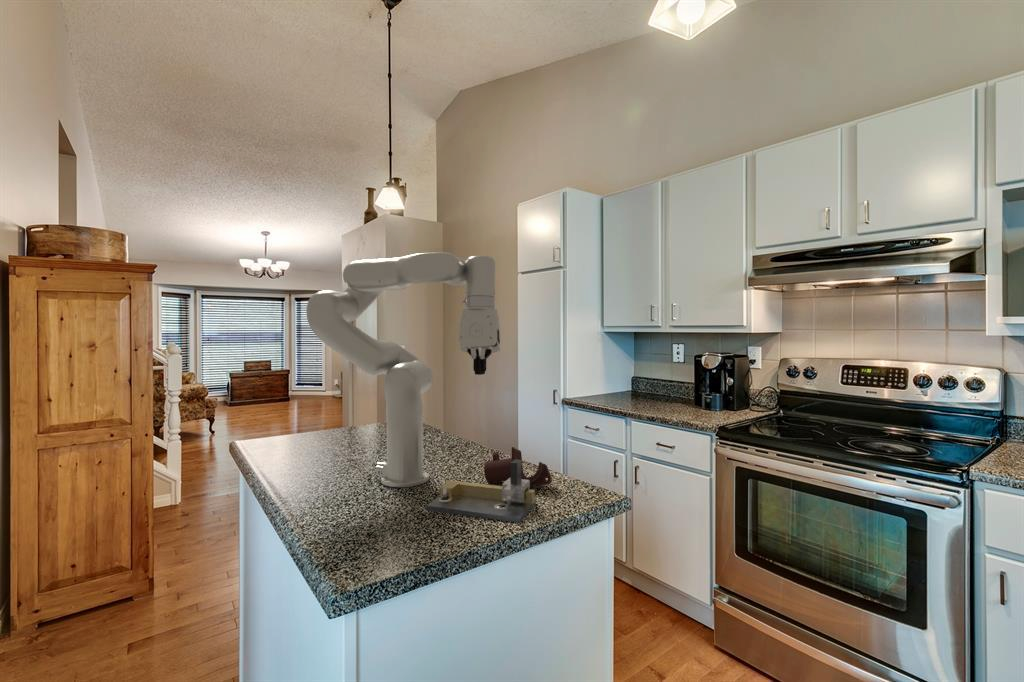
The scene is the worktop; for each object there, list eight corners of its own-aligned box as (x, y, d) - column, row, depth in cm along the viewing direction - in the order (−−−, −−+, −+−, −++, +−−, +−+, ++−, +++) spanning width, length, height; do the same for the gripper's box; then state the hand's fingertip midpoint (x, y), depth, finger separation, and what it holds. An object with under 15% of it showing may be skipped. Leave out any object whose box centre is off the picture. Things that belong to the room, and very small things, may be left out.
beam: (436, 498, 110) (436, 488, 110) (448, 490, 116) (448, 480, 116) (526, 510, 102) (526, 499, 102) (534, 500, 109) (534, 490, 109)
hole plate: (426, 510, 105) (426, 504, 105) (450, 493, 117) (450, 488, 117) (520, 523, 98) (520, 517, 98) (536, 503, 110) (536, 498, 110)
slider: (497, 505, 104) (497, 466, 104) (509, 493, 112) (509, 457, 112) (518, 508, 103) (518, 468, 103) (529, 496, 111) (529, 459, 110)
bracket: (548, 482, 117) (544, 442, 121) (484, 490, 121) (482, 451, 125) (554, 484, 122) (550, 446, 126) (493, 492, 126) (490, 455, 131)
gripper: (448, 303, 122) (447, 374, 122) (502, 302, 117) (501, 376, 117) (460, 305, 129) (460, 372, 129) (512, 304, 124) (511, 374, 124)
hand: (479, 374), depth 123 cm, fingers closed
